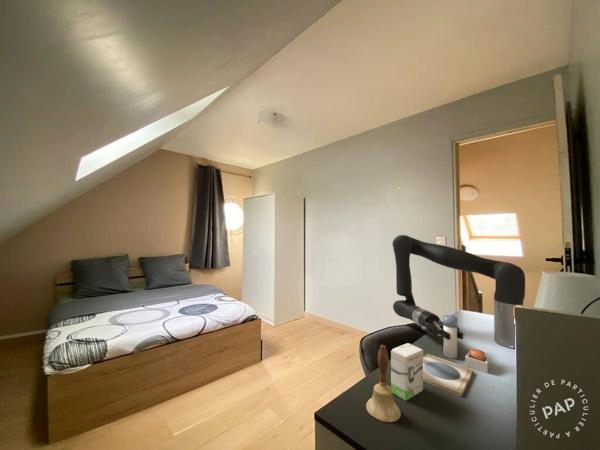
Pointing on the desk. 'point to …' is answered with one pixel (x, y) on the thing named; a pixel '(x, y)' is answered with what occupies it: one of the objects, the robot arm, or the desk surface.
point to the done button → (477, 354)
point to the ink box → (406, 371)
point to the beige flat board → (446, 374)
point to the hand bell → (383, 394)
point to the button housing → (477, 363)
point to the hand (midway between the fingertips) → (455, 336)
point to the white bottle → (451, 328)
